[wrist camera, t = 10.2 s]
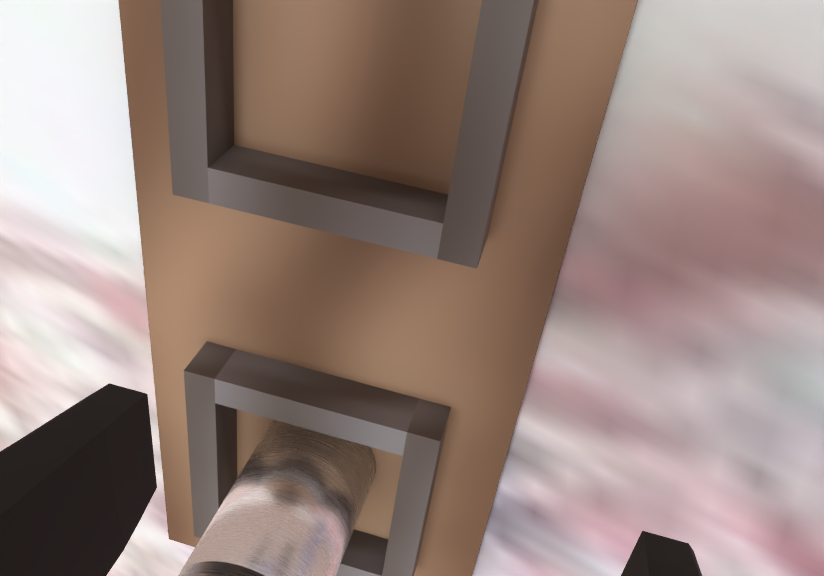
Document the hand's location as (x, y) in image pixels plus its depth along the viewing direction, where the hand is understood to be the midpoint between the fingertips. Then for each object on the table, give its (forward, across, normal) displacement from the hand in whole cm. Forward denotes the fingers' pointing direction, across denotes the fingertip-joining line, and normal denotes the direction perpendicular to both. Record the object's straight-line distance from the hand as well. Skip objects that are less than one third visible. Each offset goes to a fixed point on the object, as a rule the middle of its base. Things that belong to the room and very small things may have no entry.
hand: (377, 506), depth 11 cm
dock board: (+10, +4, +4) cm, 12 cm away
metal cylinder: (+10, +4, +11) cm, 15 cm away
